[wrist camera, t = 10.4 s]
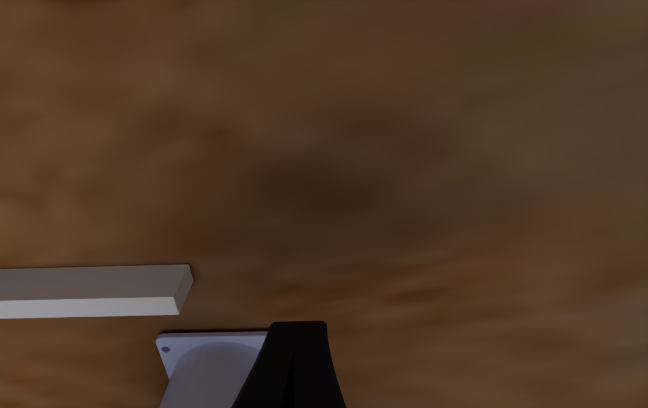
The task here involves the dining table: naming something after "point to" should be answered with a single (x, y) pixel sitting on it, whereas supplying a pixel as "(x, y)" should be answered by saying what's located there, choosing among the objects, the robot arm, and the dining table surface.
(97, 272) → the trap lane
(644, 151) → the dining table surface
